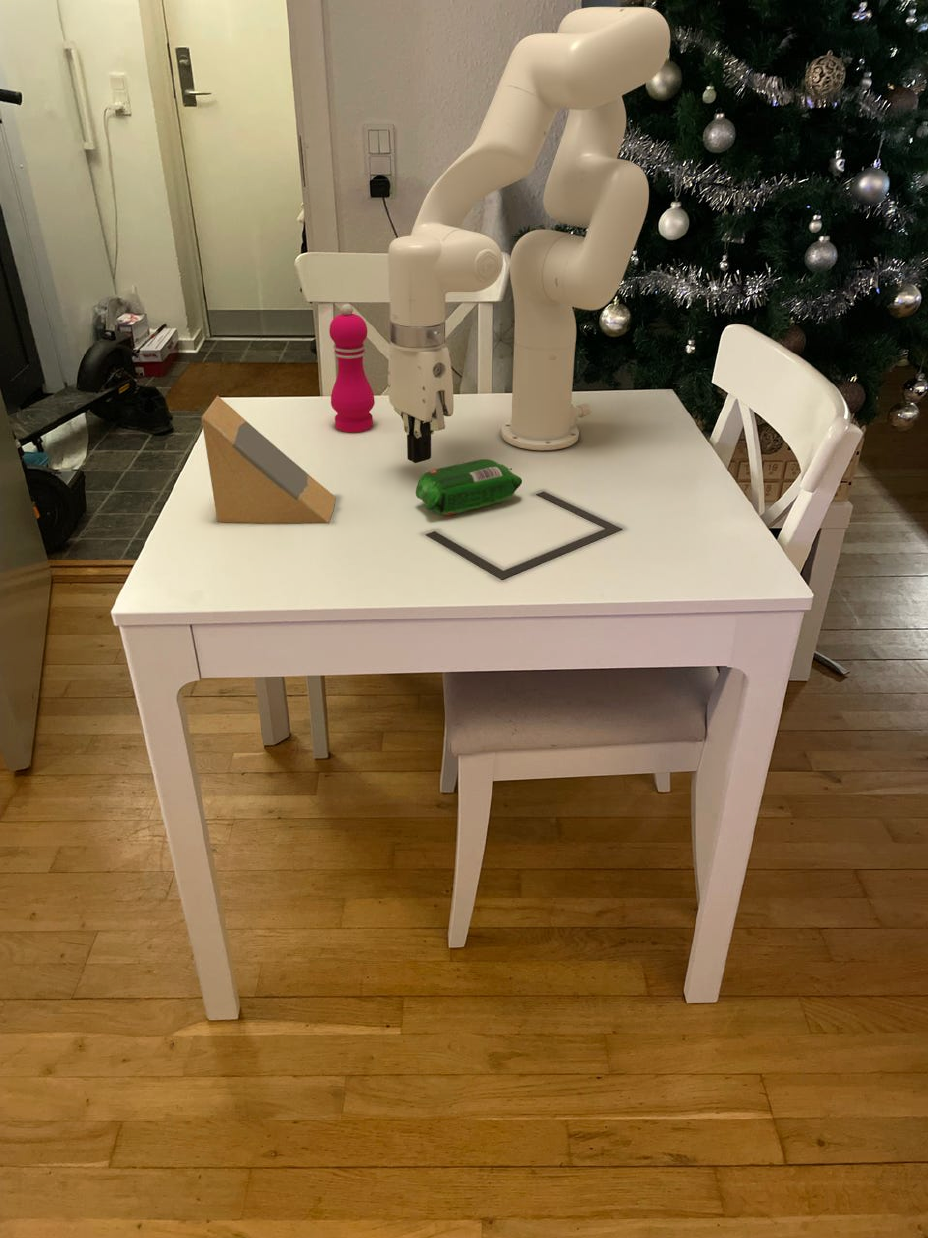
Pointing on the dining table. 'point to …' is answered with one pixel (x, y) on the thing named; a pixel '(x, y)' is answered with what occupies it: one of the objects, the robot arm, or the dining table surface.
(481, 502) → the snack package
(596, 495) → the dining table surface
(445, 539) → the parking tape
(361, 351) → the pepper mill
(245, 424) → the sandwich container
